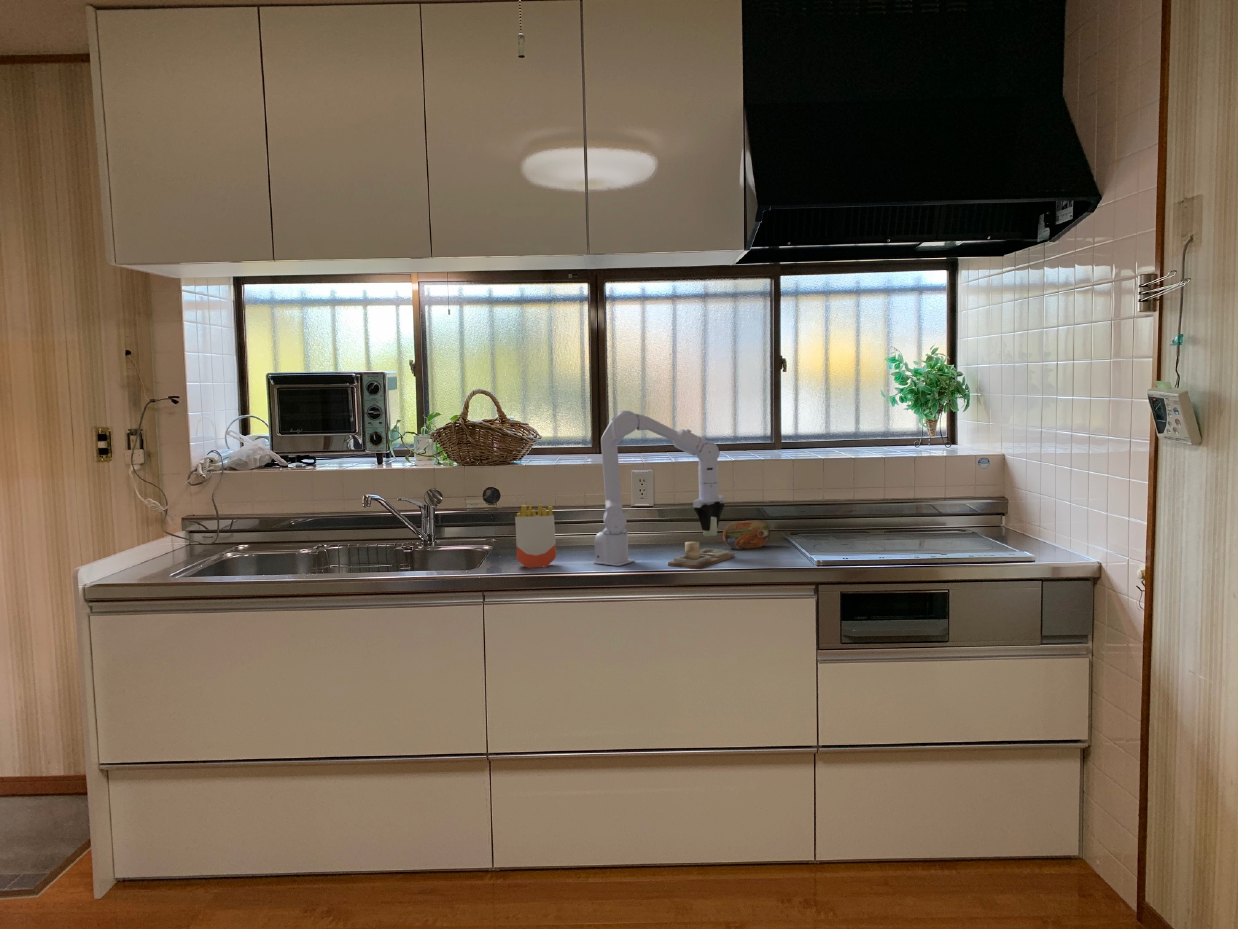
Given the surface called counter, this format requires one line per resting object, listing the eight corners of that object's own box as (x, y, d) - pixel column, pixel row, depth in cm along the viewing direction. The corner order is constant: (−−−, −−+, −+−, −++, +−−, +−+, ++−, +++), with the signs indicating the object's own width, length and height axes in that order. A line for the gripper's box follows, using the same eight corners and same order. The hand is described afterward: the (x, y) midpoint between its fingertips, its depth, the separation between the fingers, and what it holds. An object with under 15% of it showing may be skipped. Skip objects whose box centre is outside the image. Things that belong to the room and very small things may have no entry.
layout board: (668, 565, 234) (667, 558, 233) (704, 554, 250) (704, 547, 249) (698, 569, 228) (698, 561, 228) (734, 556, 244) (734, 549, 243)
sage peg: (700, 535, 242) (700, 518, 241) (707, 533, 245) (707, 516, 245) (712, 536, 239) (712, 519, 239) (719, 534, 243) (719, 517, 242)
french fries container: (519, 565, 243) (516, 504, 241) (556, 564, 243) (553, 502, 241) (517, 568, 238) (514, 506, 237) (555, 567, 238) (552, 504, 237)
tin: (725, 550, 254) (725, 523, 254) (721, 548, 258) (721, 521, 257) (770, 546, 258) (770, 519, 258) (766, 544, 261) (765, 518, 261)
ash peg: (682, 561, 234) (682, 543, 234) (690, 558, 237) (690, 541, 237) (694, 562, 232) (694, 544, 231) (702, 559, 235) (701, 542, 235)
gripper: (707, 485, 233) (709, 533, 234) (733, 480, 244) (734, 526, 245) (686, 485, 237) (687, 532, 238) (712, 480, 249) (713, 525, 250)
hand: (710, 529), depth 242 cm, fingers closed on sage peg, 4 cm apart
